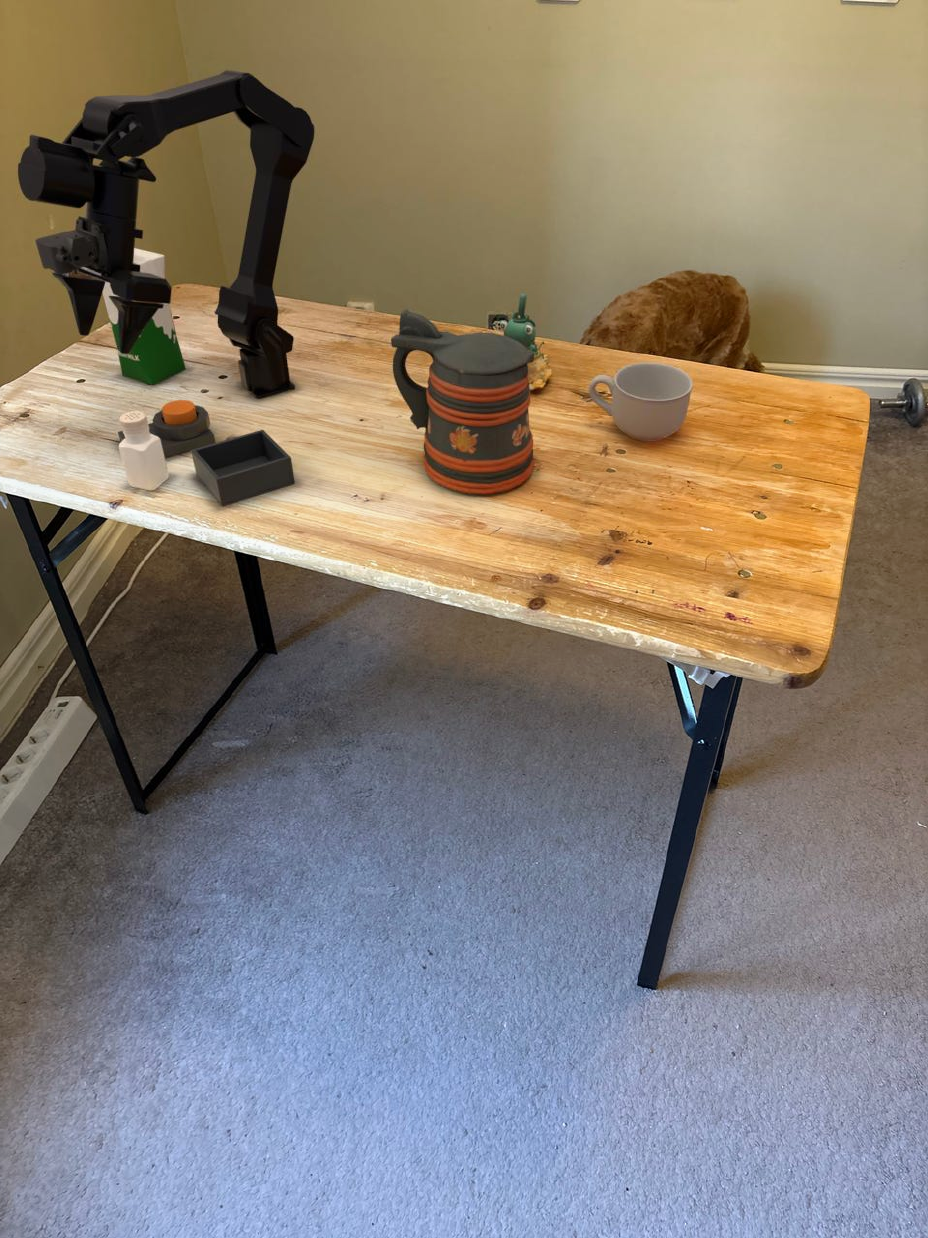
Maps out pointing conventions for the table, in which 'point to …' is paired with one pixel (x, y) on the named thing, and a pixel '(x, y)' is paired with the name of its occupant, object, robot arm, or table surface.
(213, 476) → the dark grey open box
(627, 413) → the teacup
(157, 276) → the robot arm
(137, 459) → the pepper shaker
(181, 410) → the button
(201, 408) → the button base
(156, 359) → the milk carton
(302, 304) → the table surface
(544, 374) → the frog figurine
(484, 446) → the beer stein
